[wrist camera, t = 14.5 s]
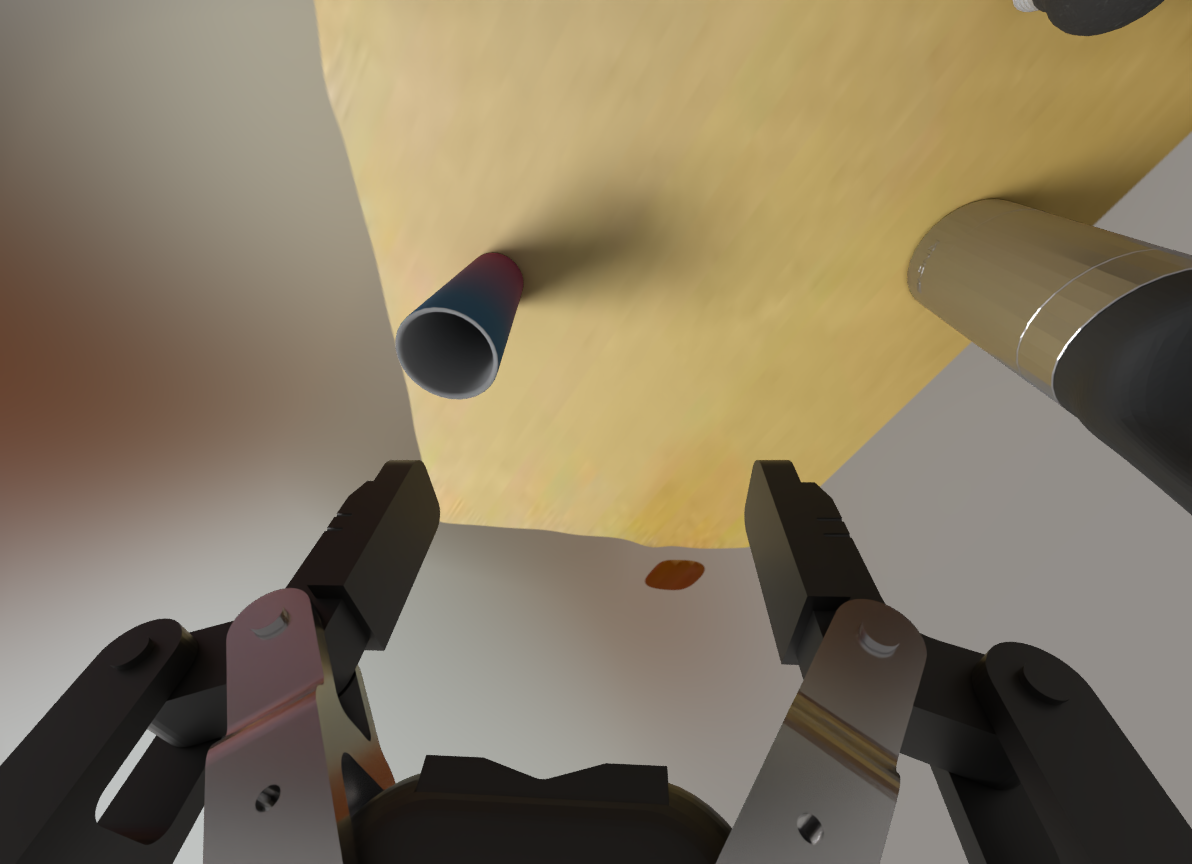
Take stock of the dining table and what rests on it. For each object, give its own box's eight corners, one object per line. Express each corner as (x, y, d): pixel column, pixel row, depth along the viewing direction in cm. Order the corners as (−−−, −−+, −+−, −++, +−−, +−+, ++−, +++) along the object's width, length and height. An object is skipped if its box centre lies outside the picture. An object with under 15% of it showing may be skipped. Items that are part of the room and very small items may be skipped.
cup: (543, 306, 44) (513, 389, 32) (477, 322, 45) (424, 407, 33) (518, 233, 40) (473, 296, 28) (447, 252, 41) (375, 320, 29)
